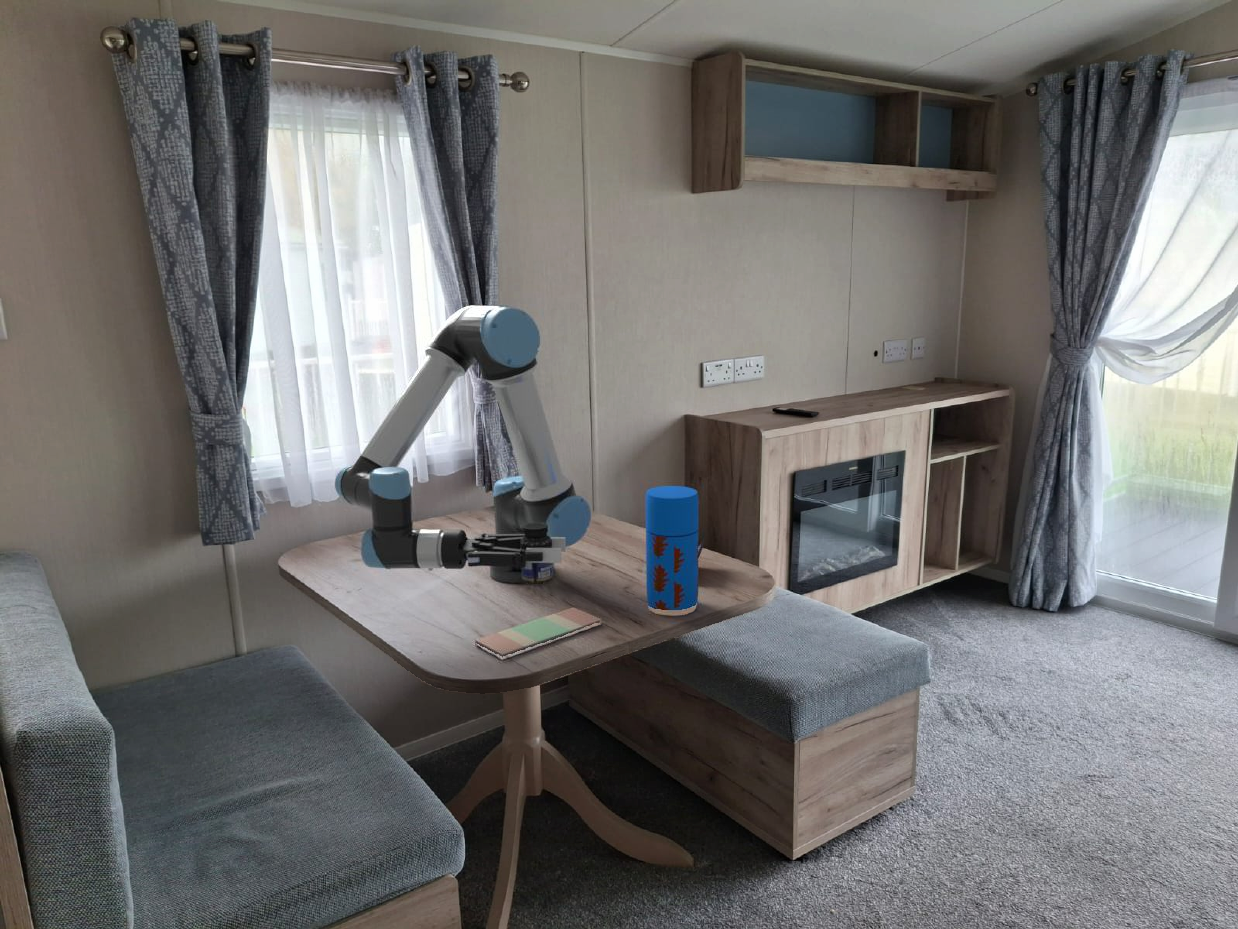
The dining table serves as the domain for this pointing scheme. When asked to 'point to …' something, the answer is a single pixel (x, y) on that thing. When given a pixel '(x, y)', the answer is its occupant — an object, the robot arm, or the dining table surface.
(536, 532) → the pill bottle
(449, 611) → the dining table surface
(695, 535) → the thermos
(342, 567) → the dining table surface
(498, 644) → the gauge plate
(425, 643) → the dining table surface
